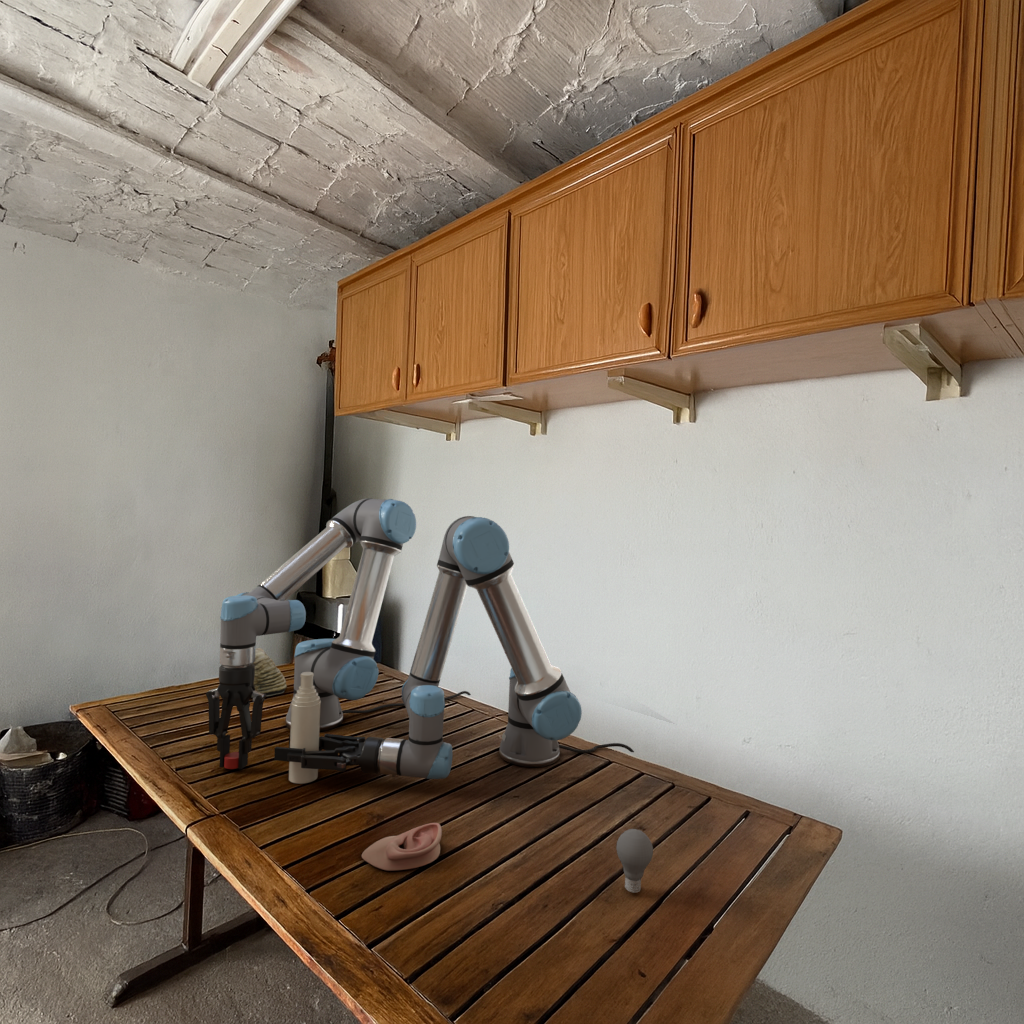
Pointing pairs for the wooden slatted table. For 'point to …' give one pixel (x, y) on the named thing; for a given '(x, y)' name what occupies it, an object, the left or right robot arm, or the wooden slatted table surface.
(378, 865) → the anatomical model
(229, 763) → the cap
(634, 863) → the light bulb
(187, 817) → the wooden slatted table surface
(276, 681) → the fossil
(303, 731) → the bottle
